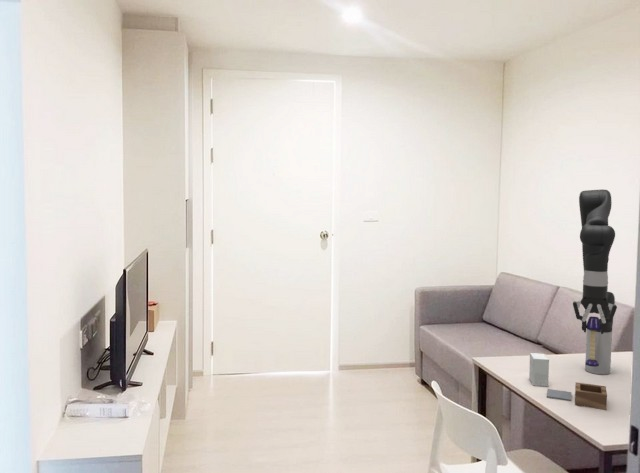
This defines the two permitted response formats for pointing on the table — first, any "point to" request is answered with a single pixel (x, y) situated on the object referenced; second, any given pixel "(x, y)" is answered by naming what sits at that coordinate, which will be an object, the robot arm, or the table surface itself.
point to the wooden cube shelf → (591, 396)
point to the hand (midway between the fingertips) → (593, 332)
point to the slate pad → (559, 394)
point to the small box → (539, 369)
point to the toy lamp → (593, 339)
